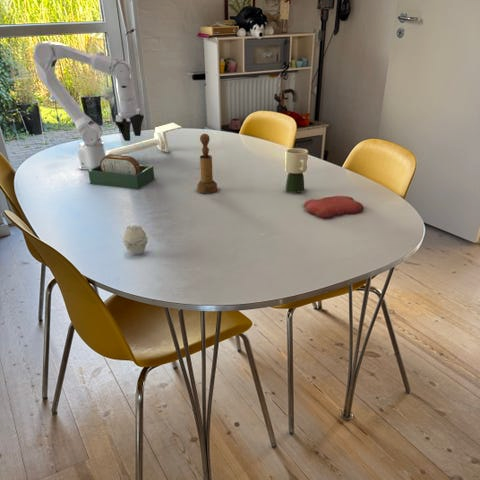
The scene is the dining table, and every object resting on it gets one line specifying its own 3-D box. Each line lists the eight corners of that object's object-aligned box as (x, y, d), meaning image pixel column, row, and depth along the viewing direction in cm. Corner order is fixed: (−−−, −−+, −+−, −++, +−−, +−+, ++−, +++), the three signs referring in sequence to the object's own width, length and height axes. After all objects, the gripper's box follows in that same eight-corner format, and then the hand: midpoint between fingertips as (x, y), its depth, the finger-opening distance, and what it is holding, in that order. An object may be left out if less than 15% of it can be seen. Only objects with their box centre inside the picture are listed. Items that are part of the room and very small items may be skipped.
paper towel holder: (181, 126, 199) (107, 146, 189) (185, 148, 204) (113, 168, 194) (173, 122, 206) (101, 141, 196) (177, 143, 211) (107, 162, 201)
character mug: (312, 194, 156) (315, 153, 149) (292, 197, 154) (294, 156, 147) (297, 185, 164) (299, 145, 157) (278, 187, 162) (279, 147, 155)
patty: (319, 220, 137) (319, 214, 136) (296, 205, 148) (297, 198, 147) (371, 211, 143) (371, 205, 141) (345, 197, 153) (346, 191, 152)
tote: (90, 183, 169) (87, 170, 166) (108, 174, 178) (106, 161, 175) (138, 189, 163) (136, 175, 160) (154, 179, 172) (153, 166, 170)
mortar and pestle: (214, 194, 158) (211, 136, 148) (195, 193, 159) (191, 136, 149) (219, 187, 163) (217, 132, 153) (200, 186, 164) (197, 131, 154)
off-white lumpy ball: (150, 246, 124) (147, 221, 120) (147, 258, 118) (143, 232, 115) (127, 247, 124) (123, 221, 120) (122, 259, 118) (118, 233, 114)
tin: (142, 180, 169) (139, 156, 164) (138, 183, 166) (134, 158, 162) (106, 176, 173) (101, 152, 169) (101, 179, 171) (96, 155, 166)
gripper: (125, 102, 166) (132, 143, 173) (146, 95, 177) (151, 134, 185) (108, 102, 168) (115, 142, 176) (129, 95, 179) (135, 133, 187)
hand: (132, 138), depth 180 cm, fingers open, 7 cm apart
